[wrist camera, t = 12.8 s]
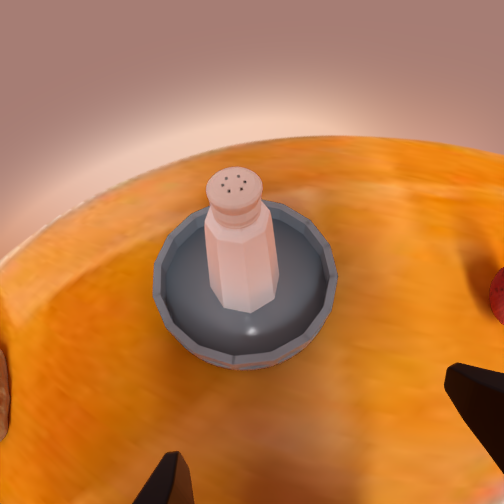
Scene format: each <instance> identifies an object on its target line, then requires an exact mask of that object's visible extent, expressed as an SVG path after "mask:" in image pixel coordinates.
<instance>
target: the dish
mask: <svg viewBox="0 0 504 504" xmlns="http://www.w3.org/2000/svg"><path fill="white" fill-rule="evenodd" d="M261 201H262V202H263V203H264V204H265V205H266V207H267V208H268V209H269V210H270V213H271V217H272V224H273V231H274V238H275V246H276V253H277V261H278V268H279V279H278V284H277V289H276V294H275V298H274V300H272V301H270V302H269V303H267V304H265V305H264V306H262V307H261V308H259V309H257V310H256V311H254V312H252V313H247V312H242V311H237V310H232V309H227V308H224V307H223V306H222V304H221V303H220V301H219V300H218V298H217V296H216V295H215V293H214V292H213V290H212V289H211V287H210V280H209V270H208V260H207V250H206V240H205V219H206V216H207V213H208V211H209V208H210V206H208V207H205V208H203V209H201V210H199V211H196V212H194V213H192V214H190V215H189V216H188V217H187V218H186V219H185V220H184V221H183V222H182V223H181V224H180V225H179V226H178V227H176V228H175V229H174V230H173V231H172V232H171V233H170V234H169V235H168V236H167V238H166V240H165V243H164V245H163V247H162V249H161V251H160V253H159V255H158V257H157V259H156V261H155V263H154V276H153V298H154V300H155V303H156V305H157V308H158V310H159V312H160V315H161V317H162V320H163V322H164V324H165V326H166V328H167V330H168V331H169V332H170V333H171V334H172V335H173V336H174V337H175V338H176V339H177V340H178V341H179V342H180V343H181V344H182V345H183V346H184V347H185V348H186V349H187V350H188V351H189V352H191V353H192V354H193V355H195V356H196V357H198V358H199V359H201V360H203V361H205V362H207V363H209V364H212V365H214V366H217V367H221V368H225V369H229V370H240V371H248V370H259V369H264V368H269V367H272V366H275V365H278V364H280V363H282V362H285V361H287V360H289V359H291V358H292V357H294V356H295V355H297V354H298V353H300V352H301V351H302V350H303V349H304V348H305V347H307V346H308V345H309V344H310V343H311V341H312V340H313V339H314V338H315V337H316V335H317V334H318V332H319V331H320V329H321V328H322V326H323V324H324V322H325V321H326V319H327V318H328V316H329V314H330V312H331V310H332V305H333V300H334V295H335V290H336V284H337V279H338V274H337V270H336V266H335V262H334V258H333V255H332V251H331V247H330V244H329V243H328V242H327V241H326V239H325V238H324V237H323V235H322V234H321V233H320V232H319V230H318V229H317V228H316V227H315V225H314V224H313V223H312V222H311V220H309V219H308V218H306V217H304V216H303V215H301V214H299V213H298V212H296V211H294V210H293V209H291V208H289V207H287V206H286V205H284V204H280V203H276V202H271V201H266V200H261Z"/></svg>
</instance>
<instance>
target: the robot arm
mask: <svg viewBox="0 0 504 504" xmlns="http://www.w3.org/2000/svg"><path fill="white" fill-rule="evenodd" d="M444 388H445V391H446V393H447V394H448V396H449V397H450V399H451V401H452V402H453V404H454V405H455V407H456V409H457V410H458V412H459V414H460V415H461V417H462V418H463V420H464V421H465V423H466V424H467V425H468V427H469V428H470V429H471V431H472V432H473V433H474V435H475V436H476V437H477V439H478V440H479V441H480V443H481V444H482V445H483V446H484V448H485V449H486V451H487V452H488V453H489V455H490V456H491V457H492V459H493V460H494V461H495V463H496V464H497V466H498V467H499V468H500V470H501V471H502V472H503V474H504V373H500V372H496V371H491V370H487V369H483V368H479V367H475V366H470V365H466V364H462V363H455V364H453V365H451V366H449V367H448V368H447V371H446V377H445V382H444ZM132 504H194V498H193V491H192V484H191V477H190V471H189V467H188V465H187V463H186V462H185V460H184V458H183V456H182V455H181V453H180V452H178V451H174V452H167V453H165V455H164V456H163V458H162V459H161V461H160V462H159V464H158V465H157V467H156V468H155V470H154V472H153V473H152V475H151V476H150V478H149V479H148V481H147V482H146V484H145V485H144V487H143V488H142V490H141V491H140V493H139V494H138V496H137V497H136V499H135V500H134V502H133V503H132Z"/></svg>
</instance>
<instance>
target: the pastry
mask: <svg viewBox="0 0 504 504" xmlns="http://www.w3.org/2000/svg"><path fill="white" fill-rule="evenodd" d="M9 405H10V395H9V386H8V372H7V364H6V359H5V356H4V353H3V351H2V350H1V349H0V441H1V440H2V439H3V438H4V437H5V435H6V434H7V431H8V413H9Z"/></svg>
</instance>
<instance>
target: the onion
mask: <svg viewBox="0 0 504 504" xmlns="http://www.w3.org/2000/svg"><path fill="white" fill-rule="evenodd" d="M489 300H490V305H491V309H492V311H493V313H494V315H495V317H496V318H497V319H498V320H499V321H500V322H501V324H503V325H504V267H503V268H501V269H500V270H499V272H498V273H497V274H496V276H495V277H494V279H493V281H492V283H491V286H490V294H489Z"/></svg>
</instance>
